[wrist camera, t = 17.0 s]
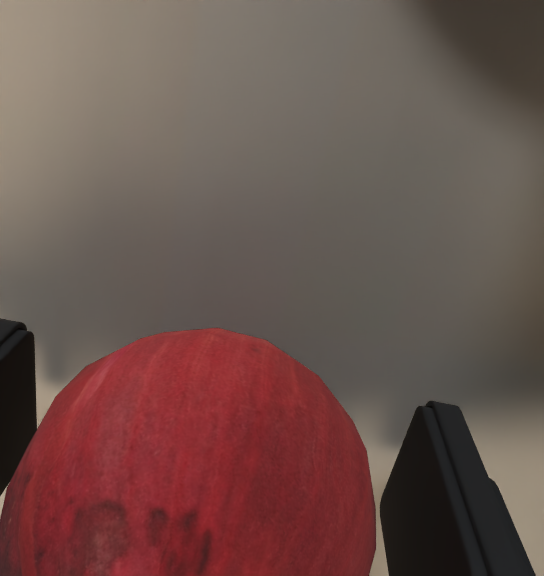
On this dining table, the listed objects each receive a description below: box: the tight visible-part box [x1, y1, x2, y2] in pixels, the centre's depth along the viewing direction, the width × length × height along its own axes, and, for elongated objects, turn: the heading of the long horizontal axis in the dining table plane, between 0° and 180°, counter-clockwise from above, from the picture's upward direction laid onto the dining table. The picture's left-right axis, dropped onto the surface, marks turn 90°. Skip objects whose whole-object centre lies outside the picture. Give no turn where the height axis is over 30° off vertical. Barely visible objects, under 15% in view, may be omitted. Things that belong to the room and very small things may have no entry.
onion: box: [0, 328, 376, 576], centre depth 8 cm, size 6×6×8 cm
